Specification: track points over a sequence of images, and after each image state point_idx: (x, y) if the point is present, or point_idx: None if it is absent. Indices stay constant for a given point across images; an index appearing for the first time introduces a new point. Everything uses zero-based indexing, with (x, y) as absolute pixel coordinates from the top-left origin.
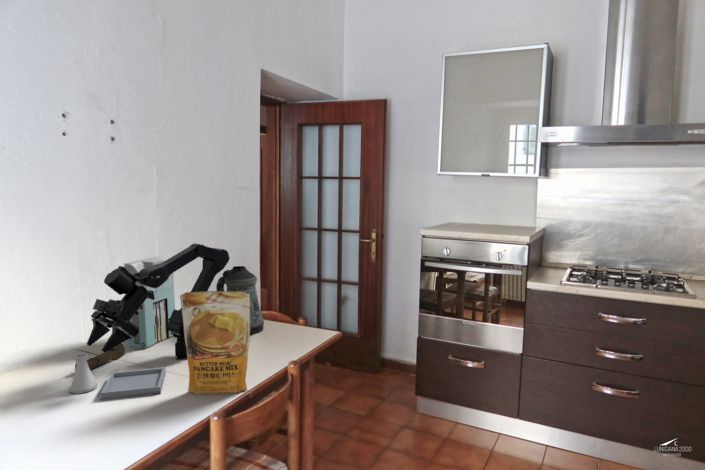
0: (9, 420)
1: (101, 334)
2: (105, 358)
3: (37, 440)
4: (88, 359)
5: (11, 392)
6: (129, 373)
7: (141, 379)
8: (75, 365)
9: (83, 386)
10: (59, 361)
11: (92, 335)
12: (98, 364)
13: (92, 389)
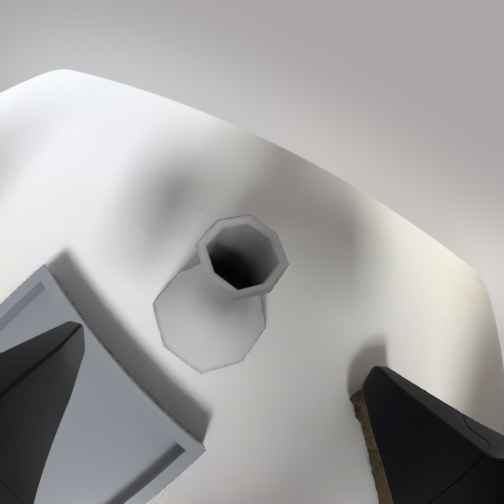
0: (195, 112)
1: (408, 498)
2: (386, 492)
3: (60, 100)
4: None
5: (367, 202)
6: (140, 488)
7: (56, 468)
8: None
9: (171, 285)
10: (477, 383)
11: (424, 415)
12: (372, 461)
13: (158, 321)
